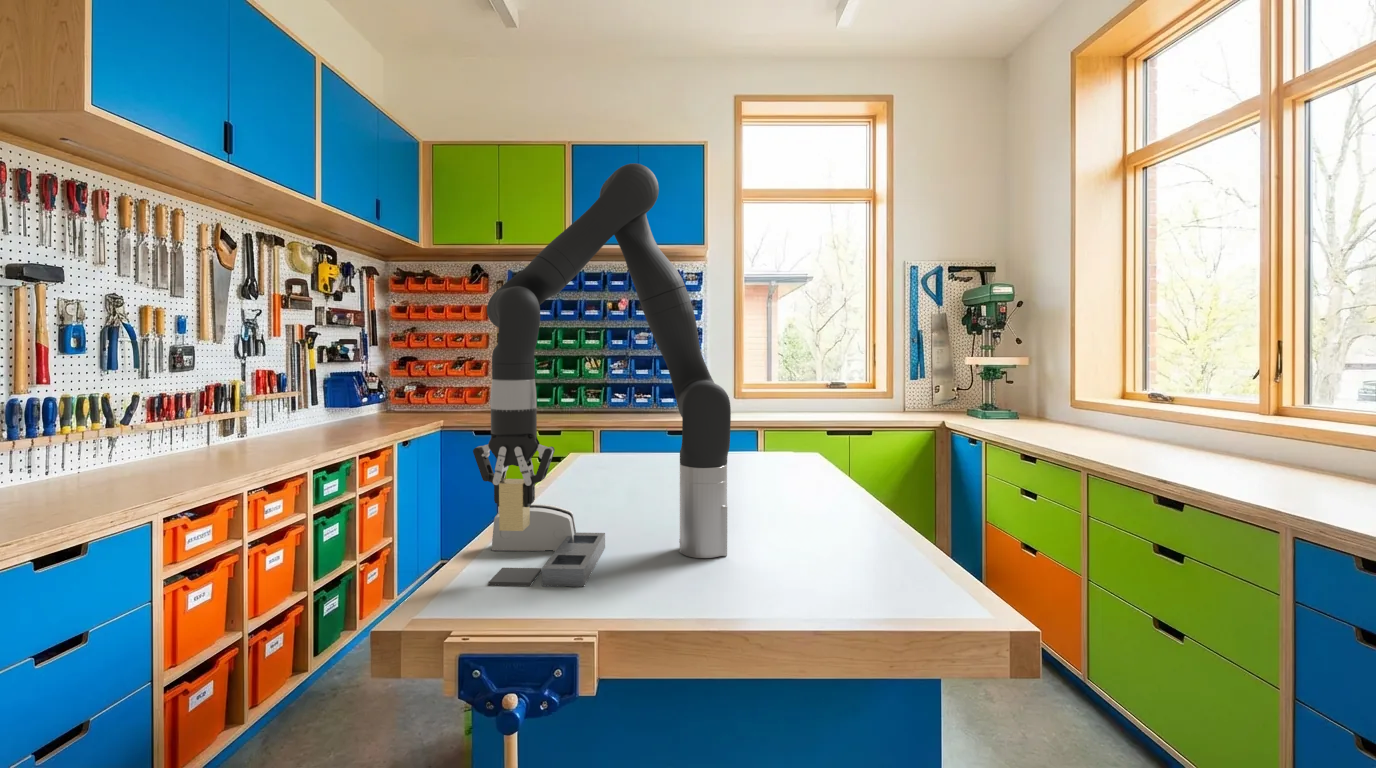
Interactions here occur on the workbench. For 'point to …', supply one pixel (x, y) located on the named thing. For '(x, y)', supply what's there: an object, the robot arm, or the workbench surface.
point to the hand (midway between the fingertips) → (514, 505)
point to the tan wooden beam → (512, 506)
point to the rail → (574, 560)
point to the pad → (515, 576)
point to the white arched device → (537, 530)
